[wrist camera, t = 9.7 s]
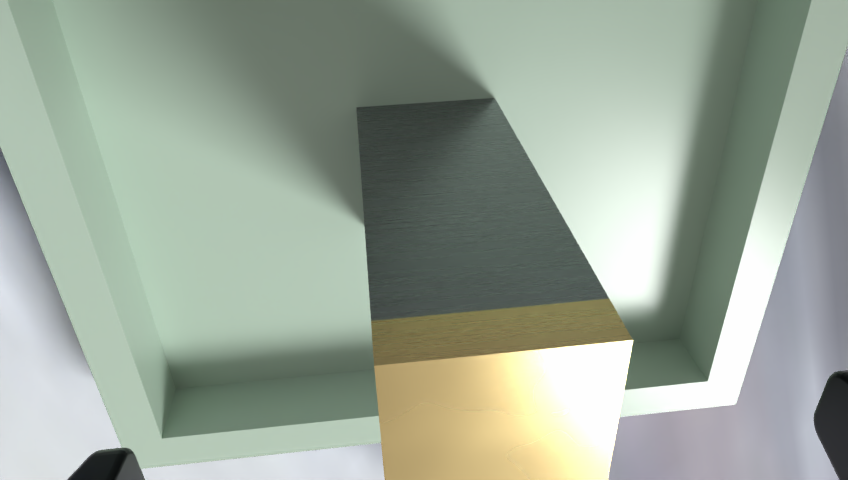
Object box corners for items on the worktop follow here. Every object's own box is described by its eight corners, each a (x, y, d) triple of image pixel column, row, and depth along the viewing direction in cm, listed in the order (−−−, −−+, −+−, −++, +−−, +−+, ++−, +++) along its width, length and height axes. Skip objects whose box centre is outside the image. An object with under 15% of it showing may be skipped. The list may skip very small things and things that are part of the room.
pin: (495, 97, 14) (633, 340, 8) (491, 217, 16) (603, 504, 9) (356, 107, 14) (374, 365, 7) (366, 227, 16) (389, 528, 9)
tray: (832, -215, 13) (930, -222, 11) (694, 343, 20) (735, 404, 18) (-49, -187, 11) (-136, -188, 9) (153, 397, 19) (130, 469, 17)
